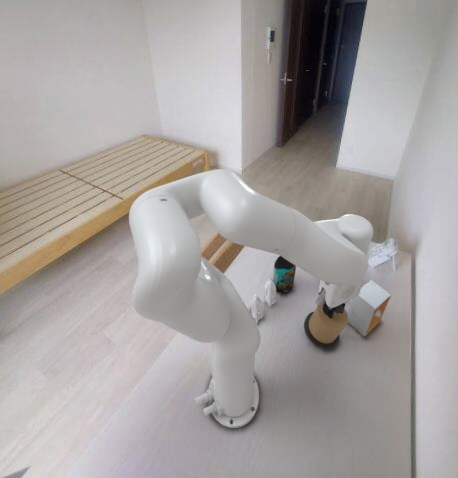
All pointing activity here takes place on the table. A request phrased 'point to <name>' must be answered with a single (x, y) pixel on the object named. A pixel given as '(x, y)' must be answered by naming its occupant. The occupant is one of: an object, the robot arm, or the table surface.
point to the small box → (368, 307)
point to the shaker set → (269, 298)
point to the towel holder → (325, 327)
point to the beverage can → (283, 275)
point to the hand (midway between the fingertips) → (332, 310)
